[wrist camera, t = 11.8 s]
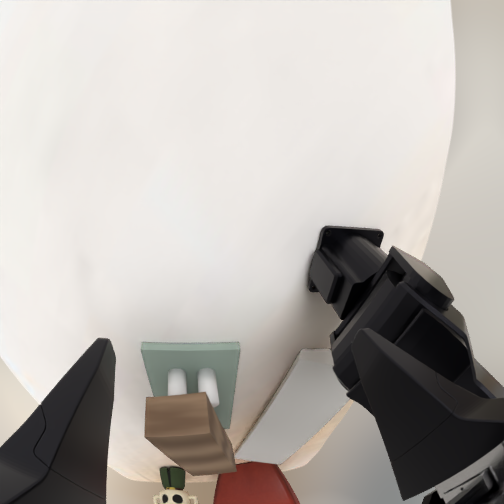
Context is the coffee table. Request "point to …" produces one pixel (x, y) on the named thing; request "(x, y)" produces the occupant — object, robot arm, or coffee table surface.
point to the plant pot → (254, 486)
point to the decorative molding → (296, 409)
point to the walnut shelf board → (189, 433)
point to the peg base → (194, 372)
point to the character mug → (173, 488)
